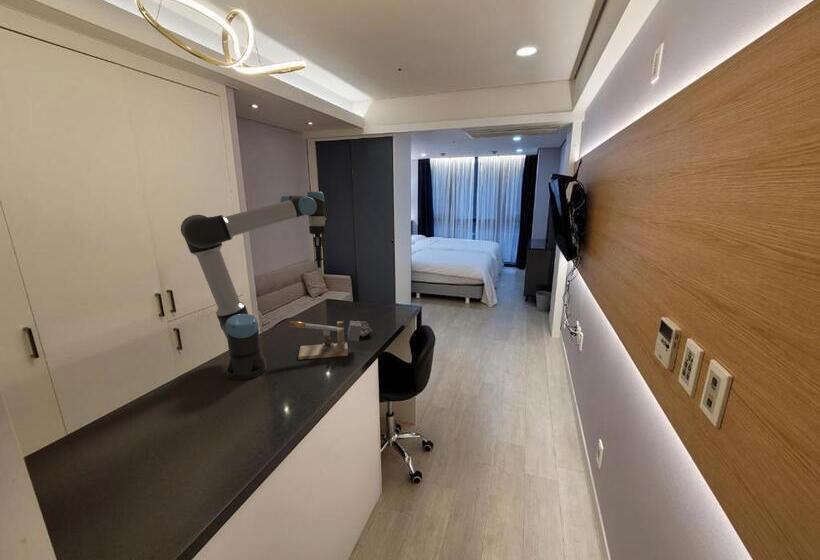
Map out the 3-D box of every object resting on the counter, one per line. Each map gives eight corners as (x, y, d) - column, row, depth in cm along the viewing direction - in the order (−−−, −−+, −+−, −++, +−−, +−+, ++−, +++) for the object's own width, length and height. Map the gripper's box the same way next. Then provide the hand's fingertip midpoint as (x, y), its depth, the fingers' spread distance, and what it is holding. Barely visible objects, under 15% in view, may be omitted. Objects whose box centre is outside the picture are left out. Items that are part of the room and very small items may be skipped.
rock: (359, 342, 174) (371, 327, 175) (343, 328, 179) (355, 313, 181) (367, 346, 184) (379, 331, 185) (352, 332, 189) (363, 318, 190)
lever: (287, 333, 152) (289, 318, 151) (289, 328, 158) (291, 313, 157) (358, 341, 160) (361, 326, 159) (357, 336, 166) (360, 321, 165)
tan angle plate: (298, 359, 154) (296, 332, 151) (300, 348, 164) (299, 323, 161) (348, 355, 158) (347, 329, 155) (347, 345, 169) (346, 320, 166)
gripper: (325, 226, 156) (327, 276, 162) (325, 223, 169) (327, 270, 175) (307, 226, 155) (310, 277, 161) (309, 223, 167) (312, 270, 173)
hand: (319, 273), depth 168 cm, fingers closed
